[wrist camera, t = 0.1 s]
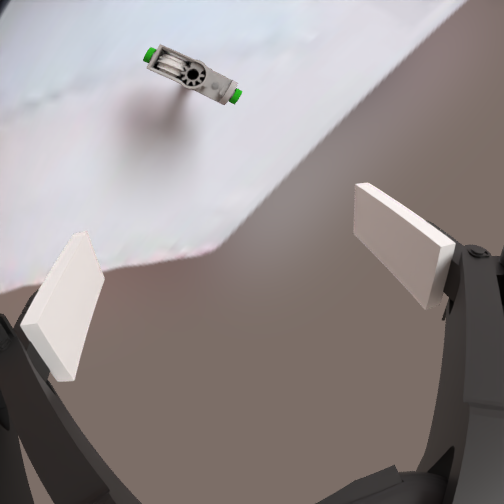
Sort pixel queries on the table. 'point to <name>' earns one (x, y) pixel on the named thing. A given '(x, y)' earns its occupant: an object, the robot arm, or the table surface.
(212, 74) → the mechanical component
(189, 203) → the table surface
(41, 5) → the table surface
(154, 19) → the table surface
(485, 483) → the robot arm
